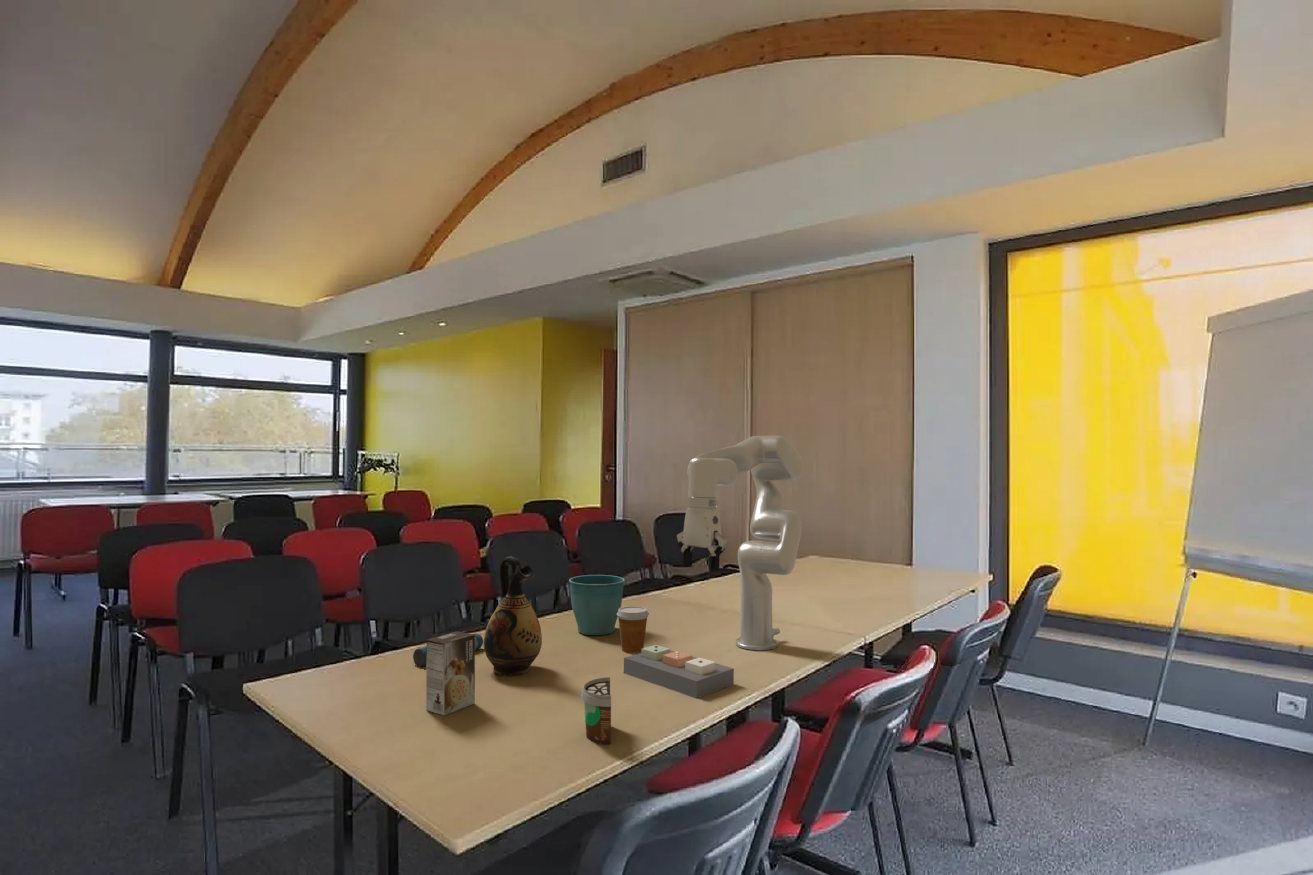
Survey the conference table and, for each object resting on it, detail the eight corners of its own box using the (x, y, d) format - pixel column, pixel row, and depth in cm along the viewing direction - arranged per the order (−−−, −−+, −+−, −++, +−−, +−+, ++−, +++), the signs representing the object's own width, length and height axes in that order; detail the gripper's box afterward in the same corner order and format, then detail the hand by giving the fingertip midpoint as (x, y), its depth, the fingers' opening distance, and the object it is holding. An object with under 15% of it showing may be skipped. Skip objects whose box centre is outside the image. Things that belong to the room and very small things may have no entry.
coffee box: (456, 698, 163) (457, 630, 163) (475, 703, 159) (476, 634, 160) (424, 710, 155) (425, 639, 155) (444, 716, 152) (445, 643, 152)
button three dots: (677, 663, 182) (677, 650, 182) (692, 668, 178) (692, 654, 178) (662, 668, 178) (662, 654, 178) (677, 673, 174) (677, 658, 174)
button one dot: (699, 670, 176) (699, 656, 176) (715, 675, 172) (715, 661, 172) (685, 675, 172) (685, 661, 172) (701, 680, 169) (701, 665, 169)
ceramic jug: (553, 669, 185) (554, 558, 185) (505, 683, 173) (506, 564, 174) (516, 657, 196) (517, 551, 197) (468, 669, 185) (469, 557, 186)
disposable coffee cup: (611, 652, 201) (611, 611, 201) (624, 644, 210) (624, 604, 210) (641, 656, 197) (641, 614, 198) (653, 647, 206) (653, 607, 206)
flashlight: (412, 665, 189) (412, 647, 189) (474, 647, 207) (474, 630, 207) (424, 668, 186) (424, 650, 186) (486, 650, 204) (486, 633, 204)
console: (661, 661, 192) (661, 647, 192) (733, 684, 174) (733, 668, 174) (623, 672, 182) (623, 657, 182) (696, 698, 164) (696, 681, 164)
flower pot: (593, 621, 237) (594, 572, 238) (635, 629, 227) (635, 578, 227) (557, 632, 223) (557, 580, 223) (599, 642, 212) (599, 586, 213)
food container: (581, 723, 148) (581, 677, 148) (609, 723, 148) (610, 676, 149) (579, 748, 136) (580, 697, 136) (610, 747, 136) (611, 696, 136)
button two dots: (655, 657, 188) (656, 644, 188) (670, 661, 184) (670, 648, 184) (641, 661, 184) (641, 648, 184) (655, 666, 180) (655, 652, 180)
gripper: (736, 505, 179) (734, 572, 178) (688, 502, 192) (686, 564, 191) (717, 505, 174) (715, 574, 173) (669, 502, 187) (667, 566, 185)
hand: (700, 569), depth 182 cm, fingers open, 9 cm apart
